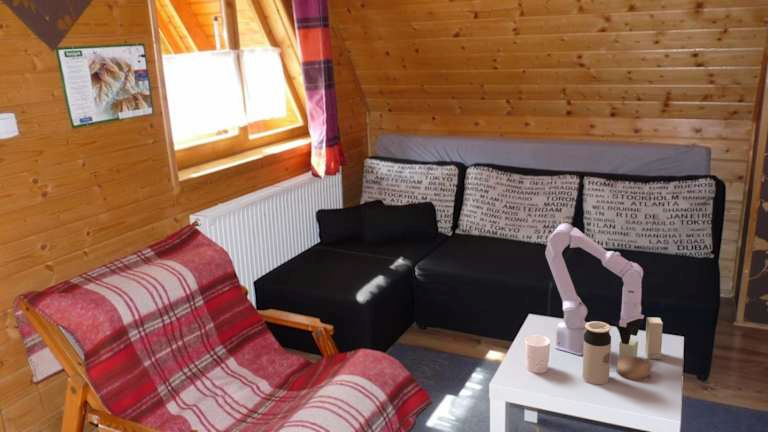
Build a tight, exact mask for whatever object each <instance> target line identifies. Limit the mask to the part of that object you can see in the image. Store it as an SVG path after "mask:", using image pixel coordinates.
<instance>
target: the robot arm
mask: <svg viewBox="0 0 768 432" xmlns="http://www.w3.org/2000/svg"><path fill="white" fill-rule="evenodd" d="M568 246H569V249H570V248H571V249H573V248H581V249H582V250H584V251H586V252H587V253H590V255H592V256H594V257H596V258H597V259H599V260H600V261H601V264H602V266H603V267H605V268H606V269H608V270H609V271H611V272H612V273H614V274H615V275H616V276H618V277H620V278H621V279H622V283H623V287H622V296H621V311H620V320H619V321H617V322H615V327H616V329H617V330H618V332H619V337H620V338H619V339H620V341H621V342H622V343H623V344H627V345H628V344H629V341H630V339H631V337H632V336H633V337H634V336H635V337H636V336H638V332H639V329H640V326H641V324H642V322H643V320H644V319H645V315H644V314H643V313H642V292H643V291H642V290H643V289H642V281H643V276H644V269H643V268H642V267H641V266H640V264H638V263H637V262H633V261H631V260H630V261H629V260H627V259H626V258H624V257H623V256H622V255H621V253H620V252H618V251H616V252H615V251H614V250H610V251H609V250H606V249H604V247H602V246H600V245H599V244H597V243H596V242H595V241H594V240H593V239H591V238H589V237H588V236H587V235H586V234H584V233H583V232H582V231H581V230H580V229H578V227H574V226H573V225H572V224H570V223H567V222H563V223H560V224H559V225H557V227H556V228H555V230H554V231H553V232H552V233H551V234H550V235H549V237H548V239H547V244H546V248H545V253H544V254H545V258H546V260H547V263H548V266H549V268H550V271H551V274H552V276H553V280H554V281H555V284H556V287H557V290H558V293H559V296H560V298H561V301H562V311H563V320H561V321H560V322H559V323H558V324H557V326H556V333H555V335H556V337H555V338H556V339H555V347H554V348H555V349H557V350H560V351H563V352H566V353H570V354H574V355H578V356H583V349H584V334H585V332H586V331H587V330H586V327H585V325H586V324H587V322H586V321H585V319H586V317H587V315H588V308H587V306H586V305H585V304H584V303H583V302H582V300H581V298H580V297H579V296H578V294H577V292H576V290H575V287H574V283H573V281H572V279H571V278H572V277H571V276H570V273H569V270H568V268H567V265H566V262H565V259H564V257H563V254H562V253H563V251H564V250H565V248H567V247H568Z"/></svg>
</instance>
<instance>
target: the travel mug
mask: <svg viewBox="0 0 768 432" xmlns="http://www.w3.org/2000/svg"><path fill="white" fill-rule="evenodd" d="M585 327H586V332H585V334H584V349H583V354H582V374H581V375H582V379H583V380H584V381H586V382H587V383H590V384H594V385H603V384H606V383H608V382H609V381H610V363H611V350H612V348H611V347H612V346H611V344H612V335H611V334H610V331H611V330H612V329H611V328H612V327H611V325H610V324H608V323H606V322H603V321H595V320H594V321H589V322H586V325H585Z"/></svg>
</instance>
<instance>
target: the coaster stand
mask: <svg viewBox="0 0 768 432" xmlns="http://www.w3.org/2000/svg"><path fill="white" fill-rule="evenodd" d="M616 362H617V365H616V373H617V374H618V375H619V376H620V377H621V378H624V379H626V380H629V381H635V382H640V381H641V382H642V381H647V380H648V379H650V377H651V373H652V372H651V371H652V366H651V363H649V361H648V360H645V359H643V358H640V357H637V358H636V357H623V358H621V359H619V358H618V359H617V361H616Z"/></svg>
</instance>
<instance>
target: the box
mask: <svg viewBox="0 0 768 432" xmlns="http://www.w3.org/2000/svg"><path fill="white" fill-rule="evenodd" d="M645 325H646V326H645V340H644V342H645V343H644V344H645V345H644V353H645V356H646V358H647V359H653V360H655V359H656V360H660V359H661V358H662V343H663V341H662V340H663V325H664V322H663V321H662V319H661V317H650V316H649V317H646V323H645Z"/></svg>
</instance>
